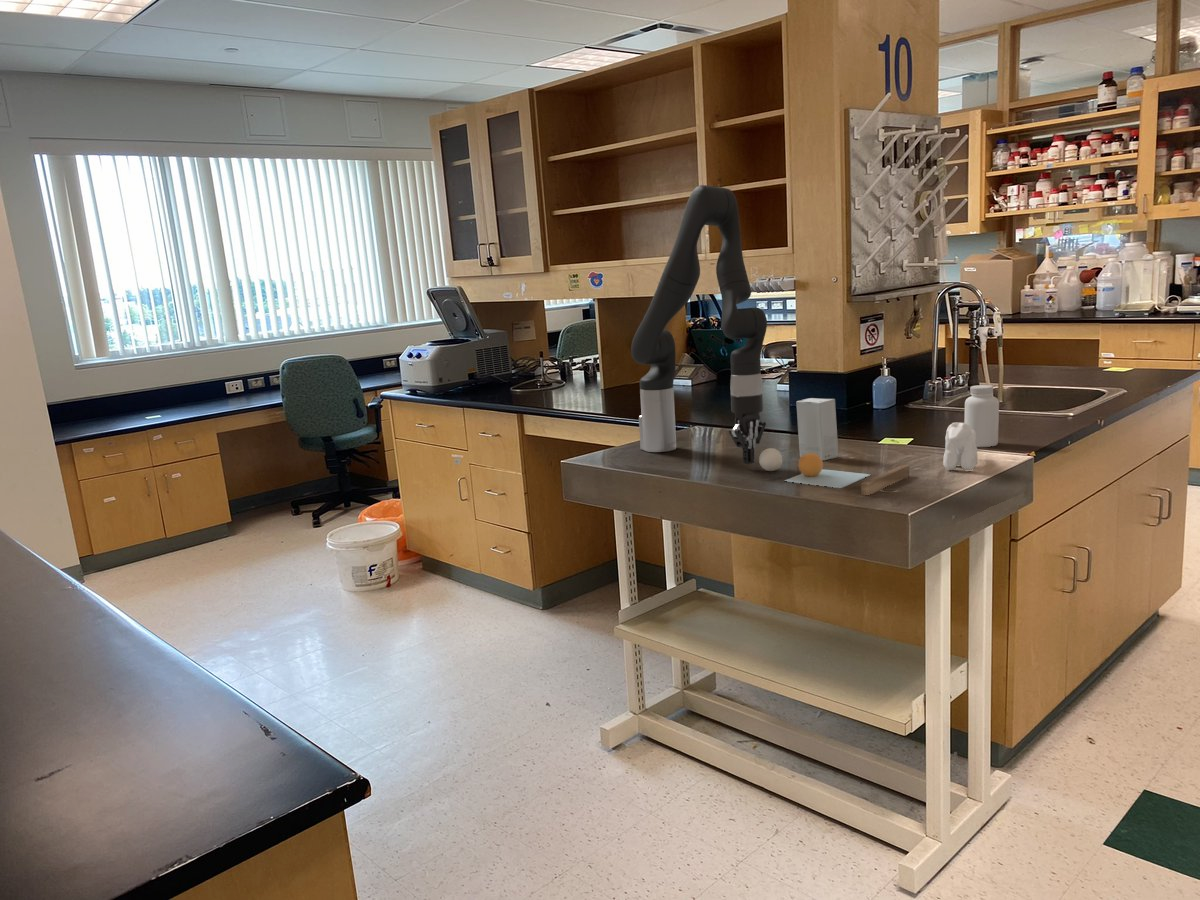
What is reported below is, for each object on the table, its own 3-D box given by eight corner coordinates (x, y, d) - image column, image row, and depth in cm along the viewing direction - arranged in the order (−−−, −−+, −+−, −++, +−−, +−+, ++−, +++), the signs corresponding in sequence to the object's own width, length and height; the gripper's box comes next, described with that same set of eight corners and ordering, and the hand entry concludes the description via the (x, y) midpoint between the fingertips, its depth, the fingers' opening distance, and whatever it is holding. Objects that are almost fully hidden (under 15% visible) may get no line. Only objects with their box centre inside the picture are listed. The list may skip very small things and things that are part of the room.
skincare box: (838, 457, 218) (838, 399, 215) (822, 461, 215) (821, 402, 212) (813, 453, 225) (812, 396, 222) (796, 457, 222) (795, 399, 219)
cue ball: (772, 445, 205) (779, 467, 204) (782, 444, 209) (789, 466, 208) (752, 452, 208) (759, 474, 207) (762, 452, 212) (769, 473, 211)
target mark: (784, 481, 197) (784, 480, 197) (815, 469, 207) (815, 468, 207) (840, 488, 188) (840, 487, 188) (870, 475, 198) (870, 474, 198)
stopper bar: (861, 495, 181) (861, 483, 181) (902, 475, 196) (902, 464, 195) (868, 495, 180) (868, 484, 180) (909, 476, 195) (909, 465, 194)
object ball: (800, 450, 198) (819, 464, 195) (812, 446, 202) (831, 459, 199) (790, 469, 201) (808, 483, 198) (802, 465, 204) (820, 478, 202)
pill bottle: (964, 447, 220) (965, 388, 217) (964, 441, 227) (964, 384, 224) (998, 448, 217) (1000, 388, 214) (997, 441, 224) (998, 383, 221)
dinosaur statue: (933, 474, 191) (935, 424, 190) (960, 462, 211) (961, 417, 210) (966, 476, 187) (968, 425, 186) (990, 464, 207) (992, 418, 206)
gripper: (748, 388, 215) (750, 456, 219) (717, 395, 206) (720, 467, 209) (774, 389, 210) (776, 459, 214) (744, 397, 201) (746, 470, 204)
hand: (748, 463), depth 211 cm, fingers closed
